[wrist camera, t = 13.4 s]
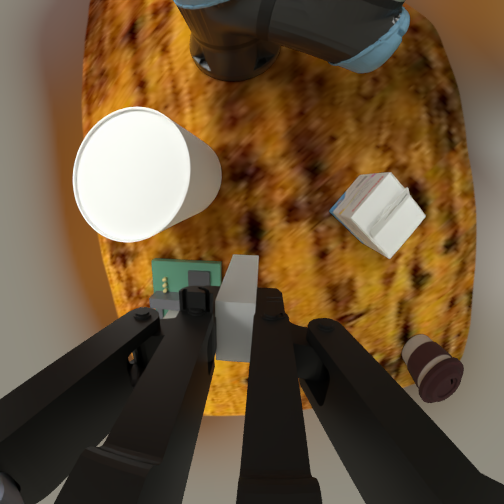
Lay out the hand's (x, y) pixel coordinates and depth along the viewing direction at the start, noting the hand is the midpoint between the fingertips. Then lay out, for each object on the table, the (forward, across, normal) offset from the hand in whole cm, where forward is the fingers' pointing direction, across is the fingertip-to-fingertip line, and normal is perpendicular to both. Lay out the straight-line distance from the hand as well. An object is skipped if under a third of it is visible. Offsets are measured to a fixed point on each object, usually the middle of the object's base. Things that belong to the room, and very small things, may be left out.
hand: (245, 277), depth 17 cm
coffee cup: (+29, +36, -26) cm, 53 cm away
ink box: (+29, +17, +2) cm, 34 cm away
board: (+29, -11, -16) cm, 35 cm away
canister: (+29, -13, +6) cm, 32 cm away
